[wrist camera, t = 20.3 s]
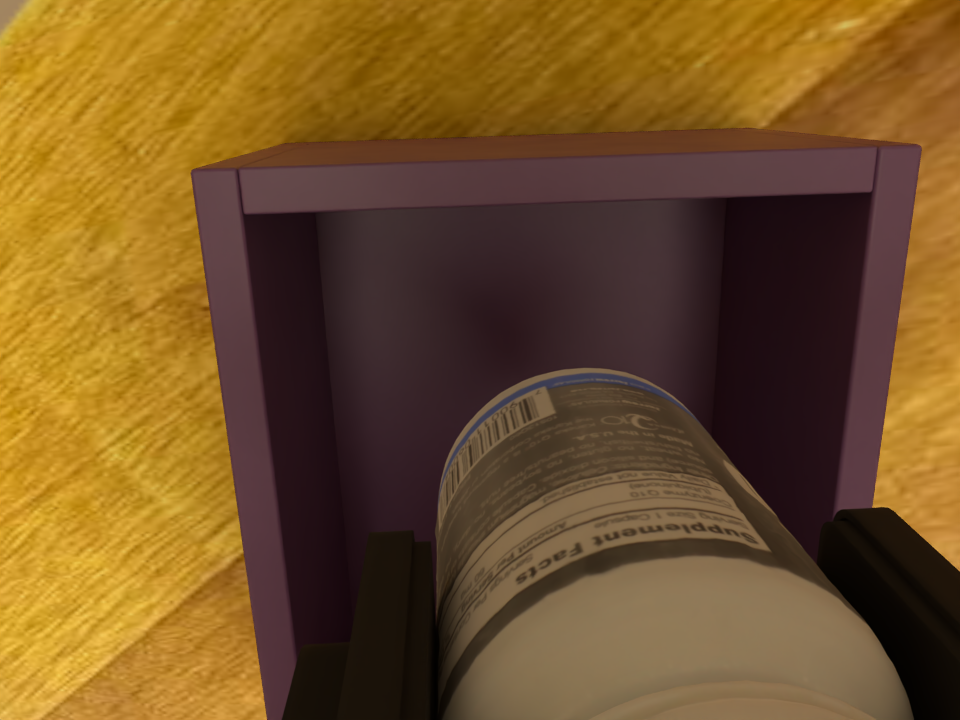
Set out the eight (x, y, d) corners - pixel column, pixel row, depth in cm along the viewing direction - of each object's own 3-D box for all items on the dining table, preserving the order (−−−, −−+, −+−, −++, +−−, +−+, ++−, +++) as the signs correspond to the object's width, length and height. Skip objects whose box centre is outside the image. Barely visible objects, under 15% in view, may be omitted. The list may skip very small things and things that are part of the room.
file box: (283, 143, 21) (189, 169, 13) (749, 127, 22) (925, 144, 14) (334, 635, 26) (286, 867, 18) (714, 615, 27) (828, 833, 19)
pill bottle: (724, 588, 14) (1087, 1214, 6) (462, 632, 14) (488, 1310, 6) (704, 336, 13) (1148, 732, 5) (412, 385, 13) (366, 860, 5)
